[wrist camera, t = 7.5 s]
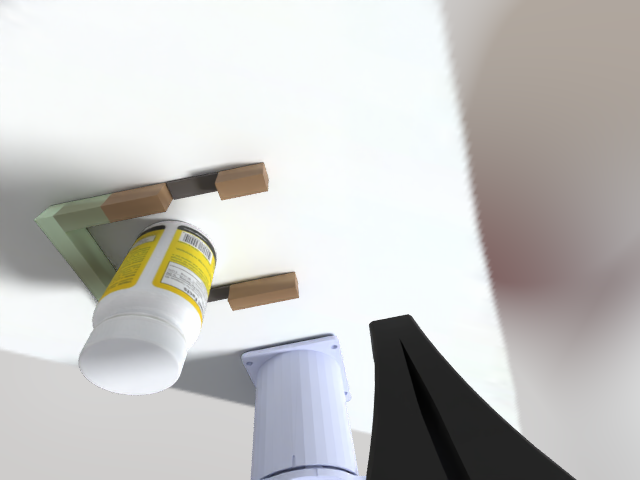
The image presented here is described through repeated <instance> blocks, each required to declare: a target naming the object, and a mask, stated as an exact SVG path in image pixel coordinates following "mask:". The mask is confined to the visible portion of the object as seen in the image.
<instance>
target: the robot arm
mask: <svg viewBox="0 0 640 480" xmlns="http://www.w3.org/2000/svg"><path fill="white" fill-rule="evenodd" d="M369 328H370V336H371V344H372V352H373V359H374V363H375V395H374V413H373V426H372V436H371V446H370V453H369V461H368V468H367V475H366V476H359V474H358V469H357V463H356V457H355V451H354V445H353V439H352V434H351V428H350V422H349V416H348V410H347V404H346V402H347V401H350V400H351V393H350V388H349V384H348V379H347V374H346V370H345V365H344V360H343V356H342V351H341V346H340V342H339V338H338V337H337V336H328V337H322V338H317V339H312V340H307V341H302V342H297V343H292V344H287V345H281V346H276V347H271V348H266V349H261V350H256V351H251V352H246V353H244V354H242V357H241V360H242V362H243V364H244V366H245V368H246V370H247V372H248V374H249V376H250V378H251V380H252V382H253V384H254V386H255V388H256V401H255V418H254V435H253V451H252V468H251V480H576V479H575V478H574V477H572V476H571V475H570V474H569V473H567V472H566V471H565V470H564V469H562V468H561V467H560V466H559V465H557V464H556V463H555V462H554V461H552V460H551V459H550V458H549V457H547V456H546V455H545V454H544V453H542V452H541V451H540V450H539V449H537V448H536V447H535V446H534V445H533V444H532V443H530V442H529V441H528V440H527V439H526V438H525V437H523V436H522V435H521V434H520V433H519V432H518V431H517V430H515V429H514V428H513V427H512V426H511V425H510V424H509V423H508V422H507V421H505V420H504V419H503V418H502V417H501V416H500V415H499V414H498V413H497V412H496V411H495V410H494V409H493V408H491V407H490V406H489V405H488V404H487V403H486V402H485V401H484V400H483V399H482V398H481V397H480V396H479V395H478V394H477V393H476V392H475V391H474V390H473V389H472V388H471V387H470V386H469V385H468V384H467V383H466V381H465V380H464V379H463V378H462V377H461V376H460V375H459V374H458V373H457V372H456V371H455V370H454V368H453V367H452V366H451V365H450V364H449V363H448V362H447V361H446V359H445V358H444V357H443V356H442V355H441V354H440V353H439V351H438V350H437V349H436V348H435V346H434V345H433V344H432V343H431V342H430V340H429V339H428V338H427V337H426V335H425V334H424V333H423V331H422V330H421V329H420V327H419V326H418V325H417V323H416V322H415V320H414V319H413V317H412V316H411V315H409V314H407V315H402V316H397V317H392V318H387V319H382V320H377V321H372V322H371V323H370V324H369Z"/></svg>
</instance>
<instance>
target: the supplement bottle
mask: <svg viewBox="0 0 640 480" xmlns="http://www.w3.org/2000/svg"><path fill="white" fill-rule="evenodd" d="M216 260H217V253H216V249H215V246H214V244H213V242H212V240H211V239H210V238H209V237H208V235H207V234H206V233H204V232H203V231H202V230H200V229H199V228H197V227H195V226H193V225H191V224H188V223H184V222H179V221H164V222H158V223H155V224H153V225H150V226H148V227H147V228H146V229H144V230H143V231H142V232H141V233H140V235H139V236H138V238H137V239H136V241H135V243H134V244H133V246H132V247H131V249H130V251H129V252H128V254H127V256H126V257H125V259H124V261H123V262H122V264H121V266H120V267H119V269H118V271H117V272H116V274H115V276H114V277H113V279H112V280H111V282H110V284H109V285H108V287H107V289H106V290H105V292H104V294H103V295H102V297H101V298H100V300H99V302H98V304H97V305H96V308H95V310H94V313H93V320H92V322H93V328H94V329H93V331H92V333H91V334H90V336H89V338H88V340H87V342H86V344H85V345H84V347H83V349H82V351H81V353H80V356H79V368H80V371H81V372H82V374H83V375H84V377H85V378H87V379H88V380H89V381H90V382H91V383H93V384H94V385H96V386H98V387H100V388H102V389H105V390H107V391H110V392H114V393H118V394H124V395H147V394H153V393H157V392H160V391H163V390H165V389H167V388H169V387H170V386H172V385H173V384H174V383H175V382H176V381H177V380H178V378H179V376H180V374H181V371H182V368H183V365H184V361H185V359H186V356H187V350H188V349H189V348H190V347H191V346H192V345H193V344H194V342H195V341H196V339H197V338H198V336H199V333H200V330H201V326H202V322H203V317H204V313H205V309H206V304H207V300H208V296H209V291H210V287H211V283H212V279H213V274H214V270H215V266H216Z"/></svg>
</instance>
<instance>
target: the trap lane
mask: <svg viewBox="0 0 640 480" xmlns="http://www.w3.org/2000/svg"><path fill="white" fill-rule="evenodd" d="M268 180H269V179H268V175H267V172H266V168H265V165H264V163H259V164H254V165H249V166H244V167H239V168H234V169H229V170H225V171H220V172H219V173H217V172H215V173H210V174H205V175H200V176H195V177H190V178H185V179H180V180H175V181H170V182H167V183H166V182H165V183H160V184H155V185H151V186H146V187H141V188H136V189H131V190H126V191H121V192H116V193H111V194H106V195H101V196H96V197H91V198H86V199H81V200H77V201H72V202H67V203H62V204H57V205H52V206H49V207H48V208H47V209H46V210H45V211H44V212H42V213H41V214H40V215H39V216H38V217H37V218H35V219H34V221H35V222H36V223H37V225H38V226H39V227H40V228H41V230H42V231H43V232H44V233H45V235H46V236H47V237H48V238H49V240H50V241H51V242H52V244H53V245H54V246H55V247H56V249H57V250H58V251H59V252H60V254H61V255H62V256H63V257H64V259H65V260H66V261H67V262H68V264H69V265H70V266H71V267H72V269H73V270H74V271H75V273H76V274H77V275H78V276H79V278H80V279H81V280H82V281H83V283H84V284H85V285H86V286H87V288H88V289H89V290H90V291H91V293H92V294H93V295H94V296H95V298H96V299H97V300H98V301H99V300H100V298H101V297H102V295H103V294H104V292H105V290H106V289H107V287H108V285H109V284H110V282H111V280H112V279H113V277H114V276H115V274H116V270H115V269H114V268H113V266H112V265H111V263H110V262H109V260H108V259H107V258H106V256H105V255H104V253H103V252H102V250H101V249H100V248H99V246H98V245H97V243H96V242H95V240H94V239H93V237H92V236H91V235H90V233H89V232H88V230H87V229H86V228H87V227H92V226H97V225H102V224H107V223H112V222H117V221H122V220H127V219H132V218H137V217H141V216H146V215H151V214H156V213H161V212H166V210H167V209H168V207H169V205H170V203H171V201H172V200H173V199H174V200H175V199H180V198H185V197H190V196H195V195H200V194H205V193H210V192H215V191H218V193H219V196H220V198H221V200H226V199H231V198H236V197H241V196H246V195H251V194H256V193H261V192H266V191H268ZM166 184H167V185H166ZM167 186H168V187H167ZM168 188H169V189H168ZM169 190H170V191H169ZM170 192H171V193H170ZM227 298H228V302H229V304H230V306H231V308H232V311H234V310H239V309H245V308H250V307H255V306H260V305H265V304H270V303H275V302H280V301H285V300H290V299H295V298H299V292H298V281H297V278H296V274H295V272H292V273H287V274H282V275H277V276H272V277H267V278H262V279H257V280H252V281H247V282H242V283H237V284H232V285H230V286H229V285H227V286H222V287H217V288H211V289H210V291H209V296H208V300H207V302H212V301H217V300H222V299H227Z"/></svg>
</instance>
